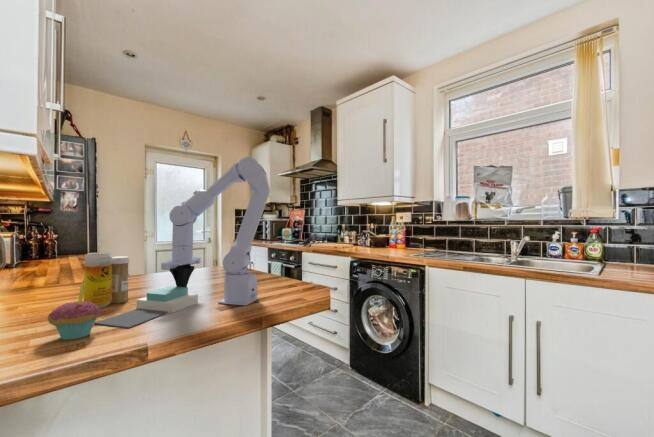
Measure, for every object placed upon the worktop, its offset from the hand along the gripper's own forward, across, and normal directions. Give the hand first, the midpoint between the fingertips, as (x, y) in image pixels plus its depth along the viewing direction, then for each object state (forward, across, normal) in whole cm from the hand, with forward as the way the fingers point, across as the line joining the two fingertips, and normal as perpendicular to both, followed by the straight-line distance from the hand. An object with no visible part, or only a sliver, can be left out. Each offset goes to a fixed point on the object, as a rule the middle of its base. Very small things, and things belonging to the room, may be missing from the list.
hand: (181, 290), depth 91 cm
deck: (+3, +5, 0) cm, 6 cm away
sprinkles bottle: (+3, +6, -17) cm, 18 cm away
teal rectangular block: (+1, +6, 0) cm, 6 cm away
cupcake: (+3, +29, -2) cm, 30 cm away
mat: (+3, +17, 0) cm, 17 cm away
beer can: (+3, +12, -18) cm, 22 cm away
